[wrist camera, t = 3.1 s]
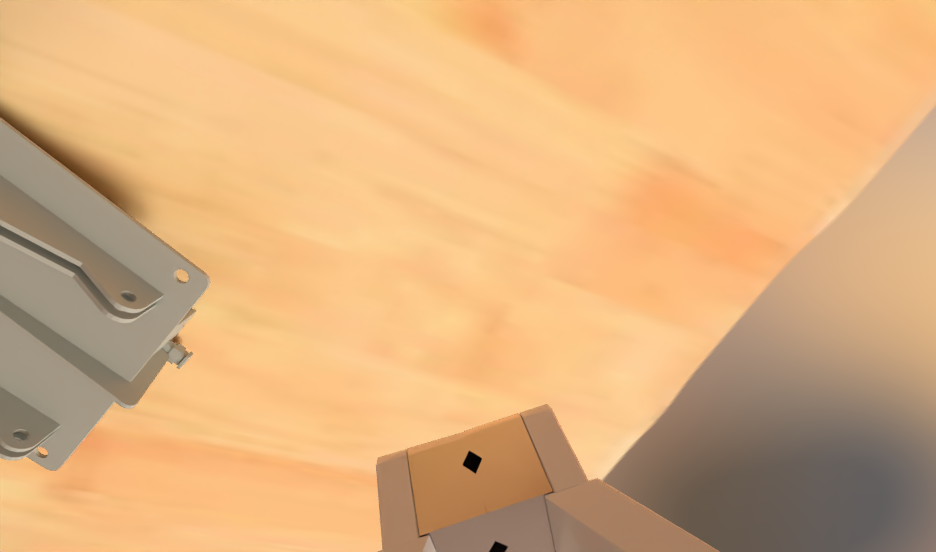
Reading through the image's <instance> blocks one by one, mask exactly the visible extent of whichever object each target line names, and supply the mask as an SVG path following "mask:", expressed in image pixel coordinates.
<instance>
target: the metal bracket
mask: <svg viewBox="0 0 936 552" xmlns="http://www.w3.org/2000/svg"><path fill="white" fill-rule="evenodd" d="M178 269H182V270H184V271H186V272H187V273H188V275H189V280H188V282H183V281H180V280H179V279H178V278H177V275H176V272H177V270H178ZM210 283H211V282H210V278H209V276H208V275H207V274H206V273H205V272H204V271H202V270H201V269H200V268H198V267H197V266H196V265H194V264H193V263H192V262H190V261H189V260H188V259H186V258H185V257H184V256H182V255H181V254H180V253H178V252H177V251H176V250H175V249H173V248H172V247H171V246H169V245H168V244H167V243H165V242H164V241H163V240H161V239H160V238H159V237H157V236H156V235H155V234H153V233H152V232H151V231H149V230H148V229H147V228H146V227H144V226H143V225H142V224H140V223H139V222H138V221H136V220H135V219H134V218H132V217H131V216H130V215H128V214H127V213H126V212H124V211H123V210H122V209H121V208H119V207H118V206H117V205H115V204H114V203H113V202H111V201H110V200H109V199H107V198H106V197H105V196H103V195H102V194H101V193H99V192H98V191H97V190H95V189H94V188H93V187H92V186H90V185H89V184H88V183H86V182H85V181H84V180H82V179H81V178H80V177H78V176H77V175H76V174H74V173H73V172H72V171H70V170H69V169H68V168H66V167H65V166H64V165H63V164H61V163H60V162H59V161H57V160H56V159H55V158H53V157H52V156H51V155H49V154H48V153H47V152H45V151H44V150H43V149H41V148H40V147H39V146H38V145H36V144H35V143H34V142H32V141H31V140H30V139H28V138H27V137H26V136H24V135H23V134H22V133H20V132H19V131H18V130H16V129H15V128H14V127H12V126H11V125H10V124H9V123H7V122H6V121H5V120H3V119H2V118H1V117H0V458H2V459H5V460H19V459H23V458H25V457H28V458H29V459H31V460H32V461H34V462H36V463H37V464H39V465H41V466H42V467H44V468H46V469H48V470H50V471H56V470H58V469H59V468H60V467H61V466H63V464H64V463H65V462H66V461H67V459H68V458H69V457H70V456H71V455H72V453H73V452H74V451H75V450H76V448H77V447H78V446H79V445H80V444H81V442H82V441H83V440H84V439H85V437H86V436H87V435H88V434H89V433H90V431H91V430H92V429H93V428H94V426H95V425H96V424H97V423H98V422H99V420H100V419H101V418H102V417H103V415H104V414H105V413H106V412H107V411H108V409H109V408H110V407H111V406H112V404H113V403H114V402H116V403H117V404H119V405H120V406H121V407H123V408H126V409H130V408H133V407H134V406H135V405H136V404H137V403H138V401H139V400H140V398H141V397H142V396H143V394H144V393H145V391H146V390H147V389H148V387H149V386H150V384H151V383H152V381H153V380H154V379H155V377H156V376H157V374H158V373H159V372H160V370H161V369H162V367H163V366H164V364H165V363H166V362H167V361H168V362H170V363H171V364H172V363H173V362H174V363H175V364H177V365H178V364H179V365H178V366H177V368H178V369H180V368H181V367H182V366H183V365H184V364H185V363H186V362H187V361H188V359H189V358H190V357H191V356H192V355H193V353H192V352H190V353H188V352H187V351H185V349H186V348H185V347H184V346H182V345H181V344H178V345H177V344H175V343H174V342H173V341H172V340H173V339H174V338H175V336H176V335H177V334H178V333H179V331H180V330H181V329H182V328H183V327H184V324H185V323H186V322H187V321H188V320H189V319H190V318H191V317H192V316H193V314H194V313H195V312H196V310H194V309H191V308H192V307H193V306H194V304H195V303H196V302H197V301H198V299H199V298H200V297H201V296H202V295H203V293H204V292H205V291H206V290H207V288H208V287H209V285H210ZM190 309H191V310H190ZM189 310H190V311H189ZM38 447H43V448H45V449H46V450H47V452H48V455H43V454H41V453H40V452H39V451H38Z"/></svg>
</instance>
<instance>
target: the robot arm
mask: <svg viewBox="0 0 936 552" xmlns="http://www.w3.org/2000/svg"><path fill="white" fill-rule="evenodd" d="M376 471H377V484H378V497H379V510H380V523H381V536H382V549H383V550H381V551H378V552H720V551H718V550H716V549H714V548H713V547H711V546H710V545H708V544H706V543H704V542H703V541H701V540H700V539H698V538H696V537H694V536H693V535H691V534H689V533H688V532H686V531H685V530H683V529H681V528H680V527H678V526H676V525H674V524H673V523H671V522H670V521H668V520H666V519H665V518H663V517H661V516H660V515H658V514H656V513H655V512H653V511H651V510H650V509H648V508H646V507H644V506H643V505H641V504H640V503H638V502H636V501H634V500H633V499H631V498H629V497H628V496H626V495H625V494H623V493H621V492H620V491H618V490H616V489H615V488H613V487H611V486H610V485H608V484H606V483H604V482H603V481H601V480H600V479H598V478H597V479H593V480H590V481H588V479H587V477H586V475H585V473H584V471H583V469H582V467H581V465H580V463H579V461H578V459H577V457H576V455H575V453H574V451H573V449H572V448H571V446H570V444H569V442H568V440H567V438H566V436H565V434H564V432H563V430H562V428H561V426H560V424H559V422H558V420H557V418H556V416H555V414H554V412H553V410H552V408H551V407H550V406H548V405H547V404H545V405H542V406H539V407H536V408H533V409H530V410H527V411H524V412H521V413H520V414H518V413H517V414H514V415H511V416H508V417H505V418H502V419H499V420H496V421H493V422H490V423H487V424H484V425H481V426H478V427H475V428H472V429H469V430H466V431H464V432H462V433H459V434H455V435H452V436H448V437H445V438H442V439H438V440H435V441H431V442H428V443H424V444H421V445H418V446H414V447H411V448H407V449H406V450H402V451H399V452H395V453H392V454H389V455H385V456H382V457H379V458H378V460H377V465H376Z"/></svg>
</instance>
